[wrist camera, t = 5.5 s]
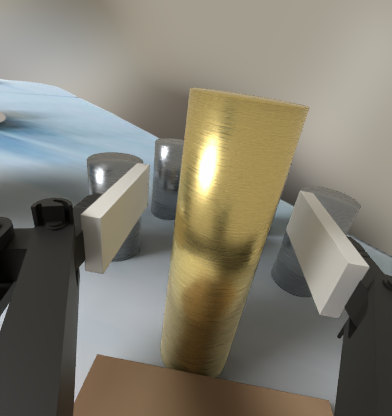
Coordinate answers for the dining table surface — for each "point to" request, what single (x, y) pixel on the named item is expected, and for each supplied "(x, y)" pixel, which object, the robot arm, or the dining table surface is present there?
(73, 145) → the dining table surface
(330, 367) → the dining table surface
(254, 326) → the dining table surface
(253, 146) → the cylinder
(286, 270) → the spacers
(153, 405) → the board
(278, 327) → the dining table surface
